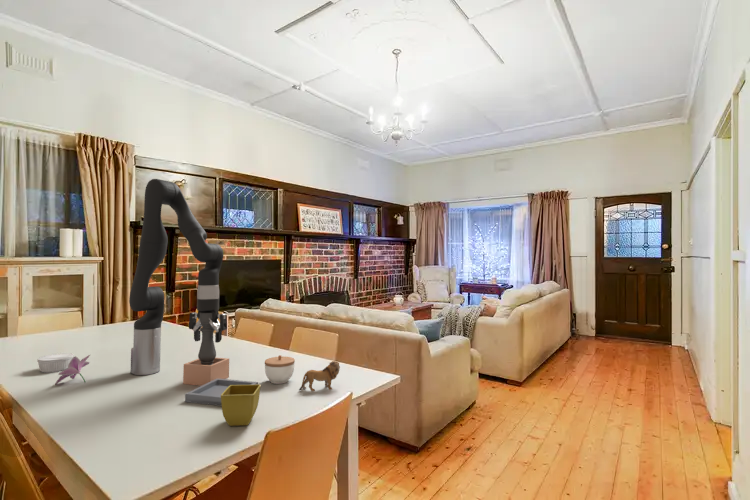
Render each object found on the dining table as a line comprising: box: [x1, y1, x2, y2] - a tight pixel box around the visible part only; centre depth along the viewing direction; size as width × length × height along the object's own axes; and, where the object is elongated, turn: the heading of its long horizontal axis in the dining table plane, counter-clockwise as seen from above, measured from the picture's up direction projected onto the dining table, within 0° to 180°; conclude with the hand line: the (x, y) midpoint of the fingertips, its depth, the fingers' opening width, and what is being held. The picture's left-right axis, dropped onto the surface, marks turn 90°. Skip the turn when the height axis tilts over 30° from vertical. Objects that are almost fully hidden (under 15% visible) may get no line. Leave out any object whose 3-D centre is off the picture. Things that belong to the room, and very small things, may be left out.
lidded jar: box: [264, 355, 296, 385], centre depth 141 cm, size 11×11×9 cm
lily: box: [54, 354, 91, 385], centre depth 137 cm, size 12×12×10 cm
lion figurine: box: [298, 360, 341, 392], centre depth 133 cm, size 15×5×9 cm, turn 117°
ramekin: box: [37, 352, 75, 373], centre depth 152 cm, size 11×11×5 cm
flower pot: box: [221, 384, 261, 427], centre depth 106 cm, size 9×9×9 cm
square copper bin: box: [182, 356, 230, 387], centre depth 141 cm, size 11×11×7 cm
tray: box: [184, 378, 259, 407], centre depth 126 cm, size 16×16×2 cm
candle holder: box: [197, 312, 217, 365], centre depth 141 cm, size 6×6×25 cm
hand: (207, 341), depth 141 cm, fingers open, 8 cm apart
